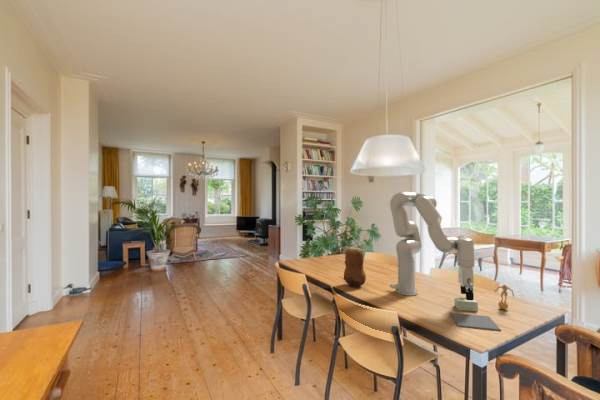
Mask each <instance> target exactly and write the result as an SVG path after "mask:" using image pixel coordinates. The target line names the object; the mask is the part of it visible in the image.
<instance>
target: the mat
mask: <svg viewBox="0 0 600 400" xmlns="http://www.w3.org/2000/svg"><path fill="white" fill-rule="evenodd" d="M450 316H451V317H452V319H453V321H454V322H455V324H456V325H457V327H458V328H460V327H461V328H467V329H468V328H469V329H470V328H471V329H476V330H477V329H478V330H479V329H480V330H487V331H495V332H497V331H498V332H501V331H502V329H501V328H500V327H499V326H498V325H497V324H496V322H495V321H494V320H493V319H492V318H491V317H490V316H489V315H478V314H470V313H459V312H458V313H457V312H450Z"/></svg>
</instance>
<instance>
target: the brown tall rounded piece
mask: <svg viewBox="0 0 600 400" xmlns="http://www.w3.org/2000/svg"><path fill="white" fill-rule="evenodd" d="M344 256H345V257H344V259H345V260H344V265H345V268H344V271H343V280H344V281H345V283H346V284H347V285H349V286H353V287H354V288H359V287H360V286H363V285H364V284H365V283H366V280H367V278H366V277H367V276H366V271H365V270H364V260H365V259H364V252H363V249H362V248H360V247H354V246H350V247H348V248H346V249H345V255H344Z"/></svg>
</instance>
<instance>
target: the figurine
mask: <svg viewBox="0 0 600 400" xmlns="http://www.w3.org/2000/svg"><path fill="white" fill-rule="evenodd" d="M499 289H502V290H501V293H500V297H501V300H500V301H499V302H498V308H499V309H501V310H508V308H509V304H508V302H507V296H508V292H507V291H508V290H509V291H511V293H512V297H515V294H514V290H513V289H511V287H509V286H507V285H506V284H503V285H502V286H498V287H497V288H496V289H495V291H494V293H496V292H497V291H498V290H499ZM503 296H504V297H503ZM504 299H505V300H504Z"/></svg>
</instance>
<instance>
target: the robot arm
mask: <svg viewBox="0 0 600 400" xmlns="http://www.w3.org/2000/svg"><path fill="white" fill-rule="evenodd" d="M389 201H390V202H389V207H390V211H391V216H392V222H393V227H394V231H395V234H396V236H398V237H400V238H405V239H401V240H398V241H397V243H396V246H395V251H396V257H397V282H396V283H395V284H392V283H390V284H389V287H390V288H392V289H395V293H397V294H398V295H402V296H417V295H418V294H419V292H418V290H417V289H416V266H415V263H416V261H415V257H414V254H417V253H419V252H420V251H421V250H422V241H421V240H422V239H421V235H420V231H419V226H418V225H417V224H416V222H414V221H413V220H409V218H408V217H409V216H408V214H407V211H406V209H405V207H410V206H411V207H414V208H416V210H417V211H418V213H419V215H420V216H421V218H422V220H423V221H424V222H425V225H426V228H427V232H428V236H429V238H430V240H431V242H432V243H433V244H434V246H435V247H436V249H437V250H438V251H440V252H441V253H445V254H447V253H451V252H455V251H456V260H457V261H456V263H457V264H456V266H458V270H457V271H458V276H457V277H458V278H457V279H458V281H457V282H458V283H459V285H460V294H461V295H465V298H466V300H474V299H475V298H474V288H473V287H474V286H475V285H474V284H475V283H474V281H475V280H474V278H475V277H474V269H473V268H475V267H476V266H475V247H474V246H475V243H474V240H473V239H471V238H468V237H467V238H465V237H457V236H456V237H455V236H446V235H445V233H444V231H443V230H442V229H443V228H442V226H441V225H442V224H441V223H442V218H443V217H442V216H441V214H440V213H439V211H438V210H437V208H436V207H437V205H438V204H437V200H436V198H435V197H433V196H431V195H426V194H423V193H417V192H415V191H399V192H397V193H395V194H394V195H392V197H391V199H390V200H389Z"/></svg>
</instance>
